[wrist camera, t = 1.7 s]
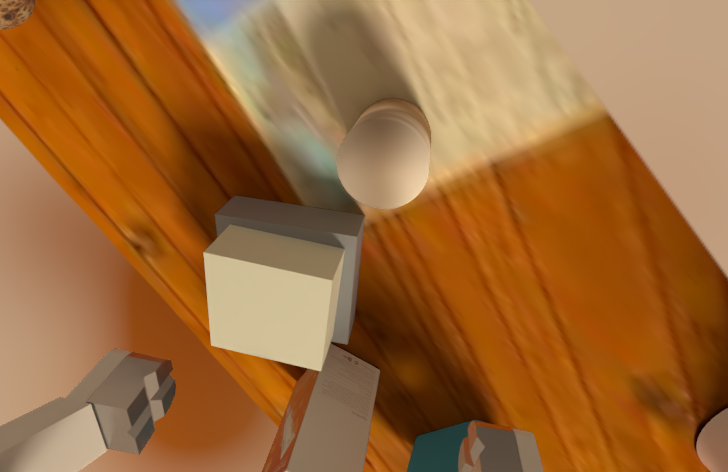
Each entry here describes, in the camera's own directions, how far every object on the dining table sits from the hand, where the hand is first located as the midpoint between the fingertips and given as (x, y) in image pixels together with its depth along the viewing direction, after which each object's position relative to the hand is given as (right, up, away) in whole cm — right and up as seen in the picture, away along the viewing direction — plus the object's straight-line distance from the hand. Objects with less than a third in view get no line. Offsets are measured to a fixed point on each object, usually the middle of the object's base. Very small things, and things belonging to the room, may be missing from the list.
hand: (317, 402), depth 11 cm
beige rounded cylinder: (+3, +12, +18) cm, 22 cm away
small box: (-2, -10, +32) cm, 33 cm away
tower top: (-5, +1, +22) cm, 22 cm away
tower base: (-4, +3, +25) cm, 26 cm away
